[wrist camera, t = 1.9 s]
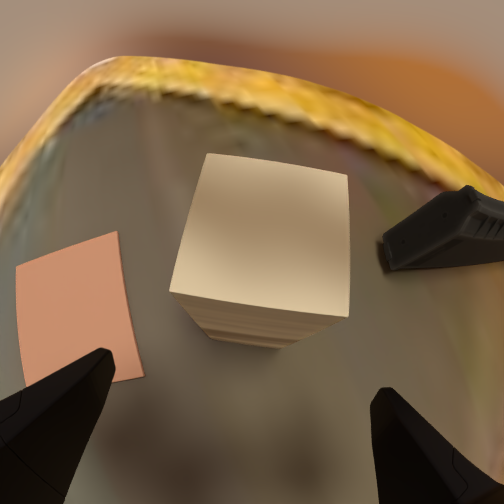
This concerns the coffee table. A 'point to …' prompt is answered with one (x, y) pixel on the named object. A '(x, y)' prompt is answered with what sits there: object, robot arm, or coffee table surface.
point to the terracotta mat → (75, 309)
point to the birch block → (265, 251)
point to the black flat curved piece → (448, 232)
